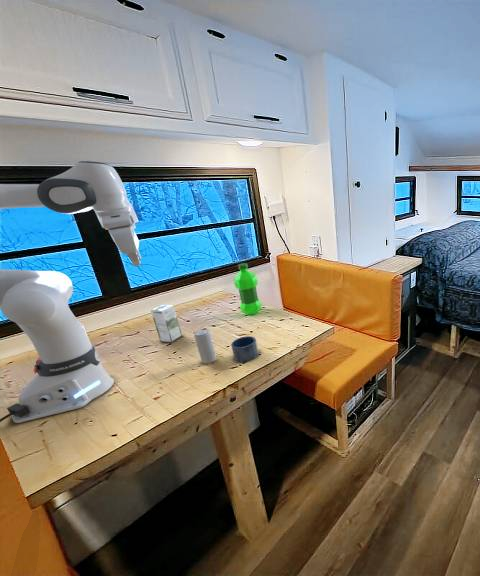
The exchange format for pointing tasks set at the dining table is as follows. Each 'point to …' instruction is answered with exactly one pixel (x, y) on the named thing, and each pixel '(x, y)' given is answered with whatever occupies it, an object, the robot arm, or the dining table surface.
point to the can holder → (244, 349)
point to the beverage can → (205, 346)
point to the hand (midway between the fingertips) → (138, 262)
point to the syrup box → (166, 323)
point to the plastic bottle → (247, 290)
